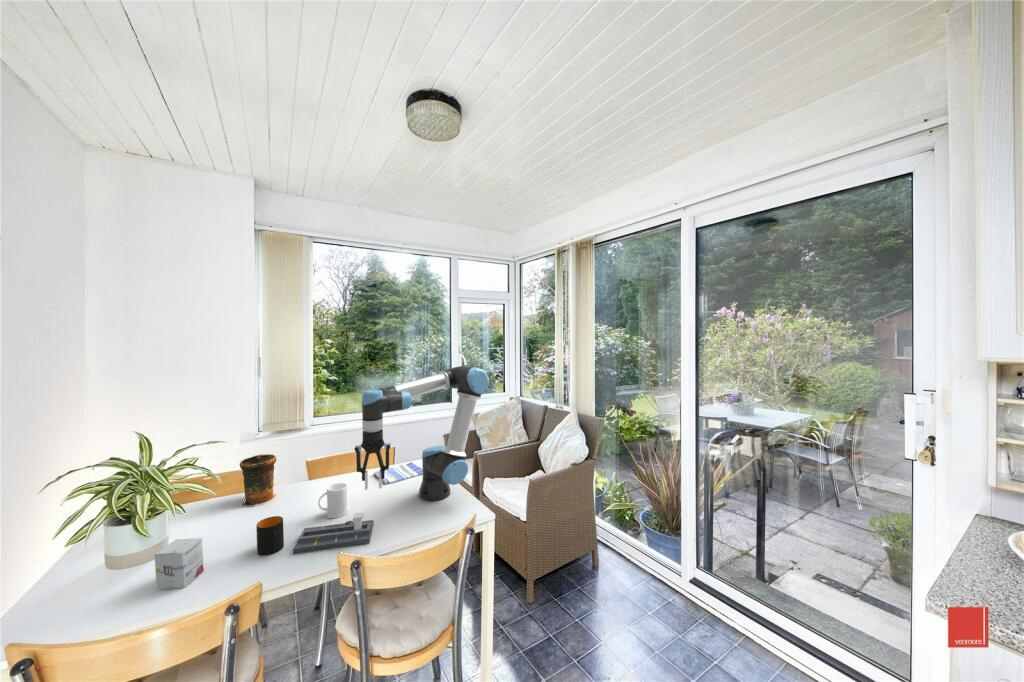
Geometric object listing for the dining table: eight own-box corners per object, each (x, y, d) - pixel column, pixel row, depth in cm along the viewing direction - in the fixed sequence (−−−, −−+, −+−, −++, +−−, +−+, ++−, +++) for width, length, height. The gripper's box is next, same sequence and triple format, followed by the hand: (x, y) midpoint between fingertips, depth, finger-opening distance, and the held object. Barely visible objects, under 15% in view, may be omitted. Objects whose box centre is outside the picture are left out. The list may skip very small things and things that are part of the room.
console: (373, 524, 153) (373, 517, 153) (369, 543, 139) (369, 535, 139) (304, 533, 146) (304, 525, 146) (293, 554, 133) (292, 545, 133)
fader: (362, 526, 147) (362, 512, 147) (361, 532, 143) (361, 517, 143) (354, 527, 146) (354, 513, 146) (353, 533, 142) (352, 518, 142)
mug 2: (319, 522, 154) (318, 494, 154) (317, 513, 162) (317, 487, 161) (349, 515, 160) (349, 488, 160) (346, 506, 168) (346, 481, 167)
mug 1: (263, 563, 128) (262, 534, 127) (254, 549, 136) (253, 522, 135) (290, 552, 134) (289, 525, 133) (280, 539, 142) (279, 513, 141)
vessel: (279, 501, 172) (276, 459, 171) (241, 510, 164) (238, 467, 163) (278, 490, 184) (275, 451, 183) (242, 498, 176) (240, 457, 175)
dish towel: (372, 476, 203) (372, 471, 203) (412, 465, 218) (412, 461, 218) (384, 486, 190) (384, 481, 190) (426, 474, 205) (426, 469, 205)
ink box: (177, 572, 123) (176, 537, 123) (204, 570, 124) (203, 536, 124) (154, 590, 115) (153, 553, 114) (184, 588, 116) (182, 552, 115)
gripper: (396, 425, 150) (397, 481, 151) (350, 428, 146) (351, 485, 147) (395, 430, 143) (396, 489, 144) (346, 433, 139) (347, 494, 140)
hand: (373, 487), depth 146 cm, fingers open, 4 cm apart
